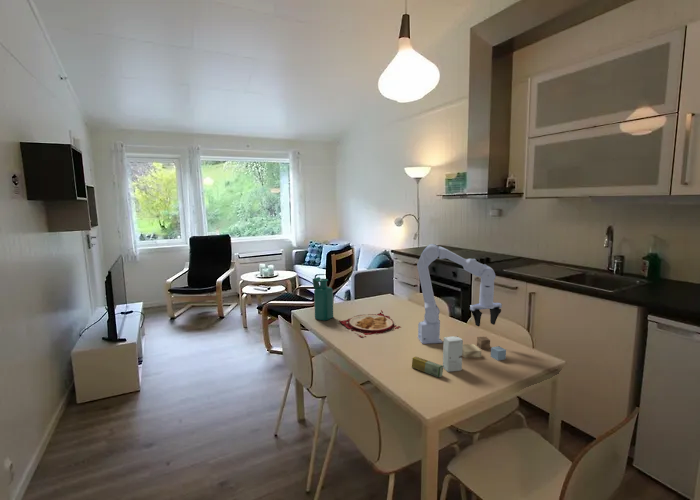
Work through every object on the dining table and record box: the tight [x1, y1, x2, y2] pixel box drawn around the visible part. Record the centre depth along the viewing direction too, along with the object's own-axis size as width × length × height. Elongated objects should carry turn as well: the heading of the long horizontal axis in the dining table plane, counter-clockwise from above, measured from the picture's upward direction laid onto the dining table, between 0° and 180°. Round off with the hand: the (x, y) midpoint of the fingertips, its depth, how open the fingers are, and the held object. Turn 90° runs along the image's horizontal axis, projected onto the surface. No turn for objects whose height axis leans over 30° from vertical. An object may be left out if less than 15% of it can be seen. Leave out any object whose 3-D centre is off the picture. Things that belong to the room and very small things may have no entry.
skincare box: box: [442, 335, 464, 373], centre depth 136 cm, size 6×4×12 cm
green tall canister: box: [312, 276, 334, 322], centre depth 196 cm, size 10×8×22 cm
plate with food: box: [338, 309, 402, 338], centre depth 185 cm, size 25×26×4 cm
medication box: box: [411, 356, 444, 379], centre depth 135 cm, size 12×3×4 cm, turn 48°
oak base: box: [462, 343, 482, 359], centre depth 150 cm, size 7×7×3 cm
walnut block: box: [476, 336, 491, 350], centre depth 157 cm, size 4×4×4 cm
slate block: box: [490, 345, 507, 362], centre depth 146 cm, size 4×4×4 cm
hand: (485, 324), depth 157 cm, fingers open, 7 cm apart
